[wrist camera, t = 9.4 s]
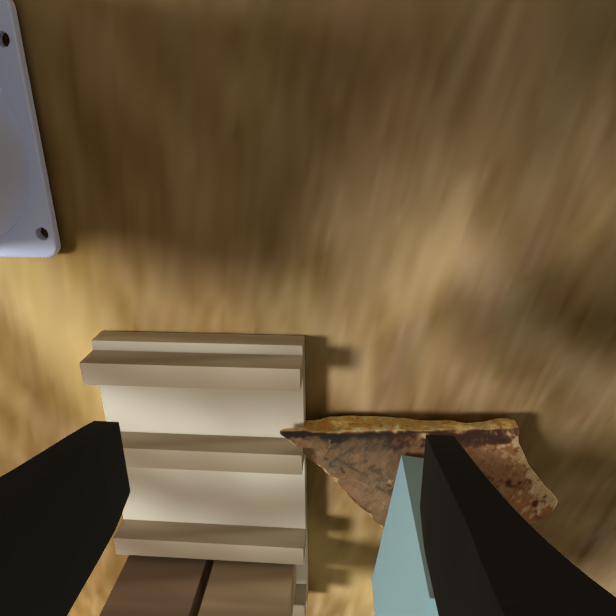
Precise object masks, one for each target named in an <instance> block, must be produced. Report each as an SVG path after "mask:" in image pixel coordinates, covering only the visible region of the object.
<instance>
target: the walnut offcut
mask: <svg viewBox="0 0 616 616" xmlns="http://www.w3.org/2000/svg"><path fill="white" fill-rule="evenodd" d="M212 567H213V560H209V559H191V558H174V557H157V556H140V555H129V557H128V559H127V561H126V563H125V565H124V567H123V569H122V571H121V573H120V575H119V577H118V579H117V581H116V583H115V585H114V587H113V589H112V591H111V593H110V595H109V597H108V599H107V601H106V604H105V606H104V608H103V610H102V612H101V614H100V616H198V613H199V610H200V607H201V603H202V600H203V597H204V593H205V590H206V587H207V584H208V580H209V577H210V574H211V570H212Z"/></svg>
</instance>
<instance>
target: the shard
mask: <svg viewBox="0 0 616 616" xmlns="http://www.w3.org/2000/svg"><path fill="white" fill-rule="evenodd" d="M280 434H281V435H282V436H283V437H285V438H286V439H287V440H289V441H290V442H291V443H293V444H294V445H295V446H296V447H303V454H304V455H305V456H306V457H307V458H308V459H310V460H311V461H312V462H314V463H315V464H316V465H318V466H320V467H321V468H323V469H324V471H325V472H326V473H327V474H329V475H330V476H331V477H332V478H333V479H334V480H335V481H336V482H337V483H338V484H339V485H340V486H341V487H342V488H343V489H344V490H345V491H346V493H347V494H348V495H349V496H350V497H351V498H352V500H353V501H354V502H355V503H356V504H358V505H359V506H360V507H361V508H362V509H364V510H365V511H366V512H367V513H368V514H369V515H371V517H372V518H373V519H374V521H375V522H376V523H378V524H379V525H380V526H381V527H382V528H383V529H384V526H385V522H386V518H387V514H388V509H389V505H390V501H391V497H392V492H393V488H394V484H395V480H396V475H397V471H398V467H399V463H400V458H401V455H405V456H412V457H418V458H424V450H425V438H426V434H427V435H452V436H454V437H455V438H456V439H457V440H458V441H459V443H460V444H461V445H462V447H463V448H464V449H465V450H466V452H467V453H468V454H469V456H470V457H471V458H472V460H473V461H474V462H475V463H476V465H477V466H478V467H479V468H480V470H481V471H482V472H483V473H484V475H485V476H486V477H487V478H488V479H489V481H490V482H491V483H492V484H493V485H494V486H495V487H496V489H497V490H498V491H499V492H500V493H501V494H502V495H503V497H504V498H505V499H506V500H507V501H508V502H509V503H510V504H511V506H512V507H513V508H514V509H515V510H516V511H517V512H518V513H519V514H520V515H521V516H522V517H523V518H524V519H525V520H526V521H527V522H528V523H529V524H532V523H534V522H536V521H538V520H540V519H542V518H544V517H545V516H547V515H548V514H550V513H551V512H552V511H554V508H555V506H556V505H557V503H558V500H557V499H556V497H555V496H554V495H553V493H552V492H551V491H550V490H549V489H548V488H547V487H546V486H545V485H544V484H543V483H542V481H541V480H540V479H539V477H538V476H537V475H536V473H535V472H534V471H533V470H532V468H531V467H530V466H529V464H528V462H527V459H526V457H525V455H524V453H523V451H522V448H521V446H520V444H519V439H518V436H519V426H518V424H517V423H516V422H515V420H511V419H509V418H495V419H493V420H488V421H482V422H474V423H463V422H457V421H450V420H415V419H408V418H394V417H379V416H339V417H326V418H323V419H318V420H305V423H304V427H301V428H287V429H283V430H280Z"/></svg>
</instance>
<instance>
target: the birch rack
mask: <svg viewBox="0 0 616 616" xmlns="http://www.w3.org/2000/svg"><path fill="white" fill-rule="evenodd" d="M91 341H92V346H93V351H92V352H91V353H89V354H88V355H87V356H86V357H85V358H84V359H83V360H82V361H81V362H80V368H81V374H82V379H83V384H84V385H100V391H101V396H102V402H103V408H104V413H105V419H106V422H119V426H120V432H121V438H122V444H123V450H124V456H125V461H126V467H127V473H128V479H129V485H130V491H131V492H130V494H129V497H128V499H127V502H126V504H125V507H124V510H123V512H122V513H123V521H122V523H121V525H120V527H119V528H118V530H117V532H116V534H115V536H114V538H113V540H114V545H115V550H116V554H122V555H140V556H157V557H174V558H191V559H209V560H213V564H214V560H226V561H243V562H260V563H277V564H295V565H296V578H297V579H296V588H295V596H294V604H293V613H292V616H305V612H306V608H307V602H308V529H307V463H306V456H305V455H304V454H303V447H296V446H295V445H294V444H293V443H291V442H290V441H289V440H287V439H286V438H285V437H283V436H282V435H281V434H280V430H283V429H287V428H301V427H304V423H305V420H306V397H305V336H300V335H257V334H214V333H170V332H127V331H101V332H100V333H99V334H98V335H97V336H96V337H95V338H94V339H93V340H91Z"/></svg>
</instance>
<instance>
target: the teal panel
mask: <svg viewBox="0 0 616 616" xmlns="http://www.w3.org/2000/svg"><path fill="white" fill-rule="evenodd" d="M423 462H424V458H418V457H412V456H405V455H401V458H400V463H399V467H398V471H397V475H396V480H395V484H394V488H393V492H392V497H391V501H390V505H389V509H388V514H387V518H386V522H385V526H384V531H383V535H382V539H381V543H380V548H379V552H378V556H377V560H376V565H375V569H374V573H373V577H372V586H373V598H374V611H375V616H439V615H438V611H437V606H436V602H435V597H434V593H433V588H432V584H431V579H430V574H429V570H428V565H427V561H426V556H425V551H424V544H423V534H422V525H421V514H420V497H421V486H422V474H423Z"/></svg>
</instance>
